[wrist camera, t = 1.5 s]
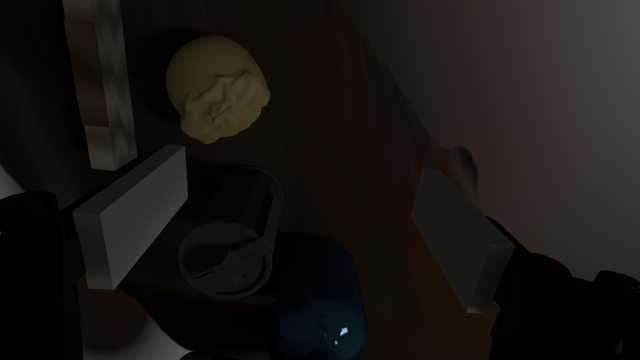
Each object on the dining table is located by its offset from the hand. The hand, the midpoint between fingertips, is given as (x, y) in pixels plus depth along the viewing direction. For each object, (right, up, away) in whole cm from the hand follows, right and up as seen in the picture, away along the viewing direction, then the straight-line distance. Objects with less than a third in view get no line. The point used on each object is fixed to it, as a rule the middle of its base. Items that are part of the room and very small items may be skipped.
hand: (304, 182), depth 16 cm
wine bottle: (+1, -15, +42) cm, 44 cm away
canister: (-10, -2, +36) cm, 37 cm away
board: (-27, +15, +28) cm, 42 cm away
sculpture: (-12, +14, +29) cm, 35 cm away
